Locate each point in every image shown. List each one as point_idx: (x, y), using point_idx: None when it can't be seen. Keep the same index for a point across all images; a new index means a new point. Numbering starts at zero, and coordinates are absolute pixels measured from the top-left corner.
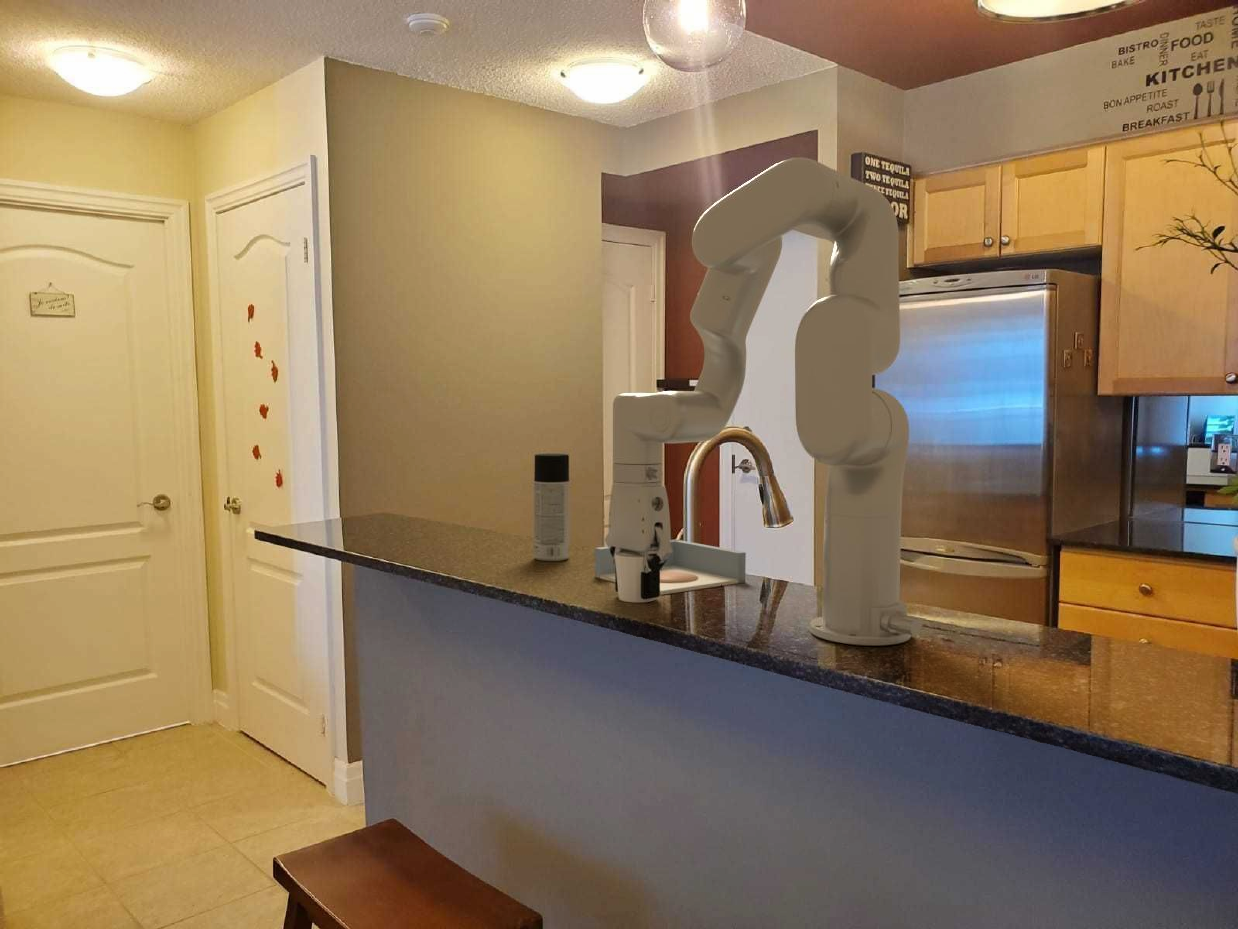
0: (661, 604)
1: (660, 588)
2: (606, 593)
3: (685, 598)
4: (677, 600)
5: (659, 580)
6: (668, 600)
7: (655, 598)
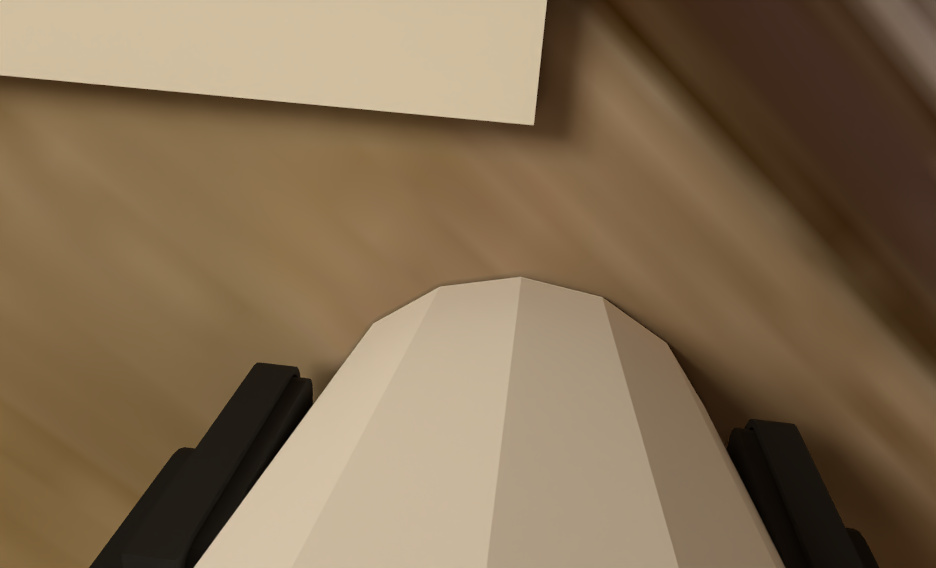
0: (876, 458)
1: (404, 20)
2: (115, 482)
3: (899, 26)
4: (890, 193)
5: (850, 548)
6: (805, 271)
7: (675, 358)
